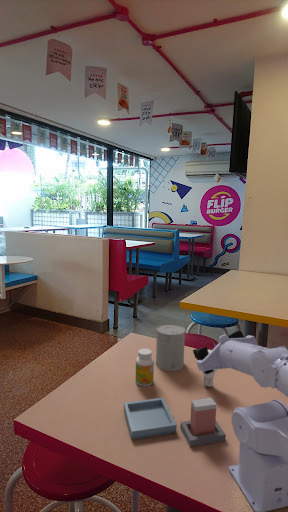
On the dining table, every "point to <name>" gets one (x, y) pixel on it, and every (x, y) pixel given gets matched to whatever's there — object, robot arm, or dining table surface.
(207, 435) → the grey rectangular frame
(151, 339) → the dining table surface
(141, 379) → the supplement bottle
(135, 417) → the parts tray
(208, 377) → the lightbulb
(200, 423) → the red and grey block
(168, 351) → the speckled stone cylinder
